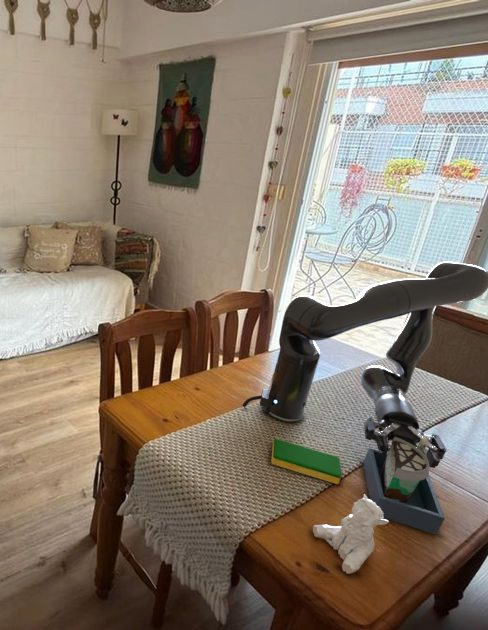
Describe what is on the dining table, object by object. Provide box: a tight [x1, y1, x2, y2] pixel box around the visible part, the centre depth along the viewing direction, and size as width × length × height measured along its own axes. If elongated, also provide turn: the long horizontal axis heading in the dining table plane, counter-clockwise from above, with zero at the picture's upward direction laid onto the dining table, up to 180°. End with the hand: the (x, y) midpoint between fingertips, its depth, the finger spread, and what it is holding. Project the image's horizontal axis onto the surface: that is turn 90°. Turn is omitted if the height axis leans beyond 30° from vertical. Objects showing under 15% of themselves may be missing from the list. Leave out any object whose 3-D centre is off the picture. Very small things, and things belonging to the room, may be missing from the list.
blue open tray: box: [362, 447, 446, 536], centre depth 93 cm, size 11×17×4 cm, turn 154°
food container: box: [380, 437, 430, 503], centre depth 92 cm, size 12×6×10 cm, turn 148°
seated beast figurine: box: [312, 493, 390, 575], centre depth 80 cm, size 10×9×12 cm
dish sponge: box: [270, 438, 342, 485], centre depth 102 cm, size 7×14×2 cm, turn 64°
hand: (409, 457), depth 92 cm, fingers open, 8 cm apart
